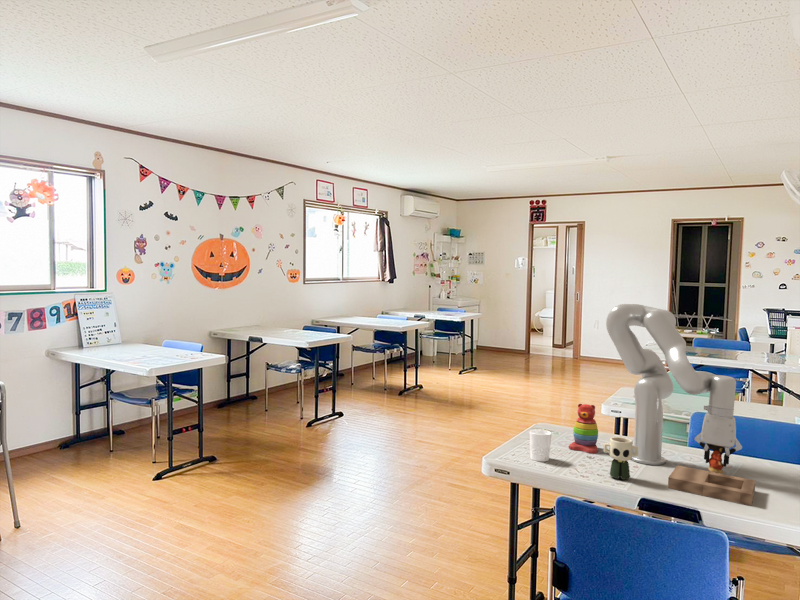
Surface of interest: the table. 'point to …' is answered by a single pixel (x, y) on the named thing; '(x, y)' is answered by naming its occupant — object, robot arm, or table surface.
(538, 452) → the white cup
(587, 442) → the stacking bear
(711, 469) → the figurine
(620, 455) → the character mug
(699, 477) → the jig
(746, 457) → the table surface
